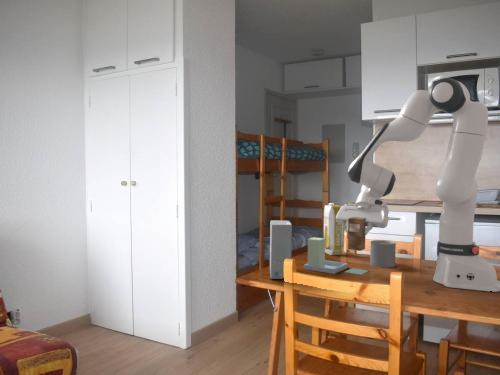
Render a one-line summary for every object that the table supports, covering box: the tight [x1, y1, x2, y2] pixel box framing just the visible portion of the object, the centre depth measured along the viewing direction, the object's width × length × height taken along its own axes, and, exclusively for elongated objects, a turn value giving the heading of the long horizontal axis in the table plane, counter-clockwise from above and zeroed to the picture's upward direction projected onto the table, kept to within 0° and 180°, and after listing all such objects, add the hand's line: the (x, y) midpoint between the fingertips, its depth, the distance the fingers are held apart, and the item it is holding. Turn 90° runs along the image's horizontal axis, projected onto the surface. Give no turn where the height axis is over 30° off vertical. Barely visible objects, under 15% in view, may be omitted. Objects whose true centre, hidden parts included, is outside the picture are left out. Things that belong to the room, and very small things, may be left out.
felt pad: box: [344, 267, 369, 276], centre depth 172 cm, size 7×8×1 cm
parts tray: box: [303, 259, 349, 275], centre depth 177 cm, size 13×13×2 cm
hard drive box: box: [269, 220, 293, 280], centre depth 168 cm, size 16×8×20 cm, turn 179°
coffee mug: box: [369, 239, 397, 268], centre depth 185 cm, size 13×10×10 cm
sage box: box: [307, 236, 326, 267], centre depth 176 cm, size 5×5×12 cm
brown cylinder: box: [347, 217, 367, 251], centre depth 171 cm, size 5×5×12 cm
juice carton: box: [323, 202, 345, 256], centre depth 209 cm, size 9×8×24 cm
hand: (356, 232), depth 171 cm, fingers closed on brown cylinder, 5 cm apart
